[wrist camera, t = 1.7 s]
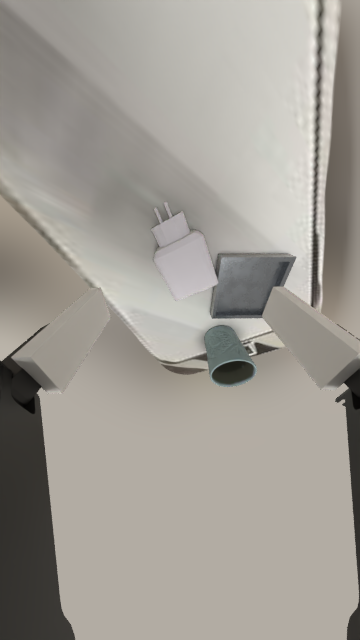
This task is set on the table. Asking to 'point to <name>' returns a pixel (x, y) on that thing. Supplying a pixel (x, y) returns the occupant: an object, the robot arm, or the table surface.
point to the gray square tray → (247, 283)
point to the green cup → (227, 358)
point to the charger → (182, 256)
